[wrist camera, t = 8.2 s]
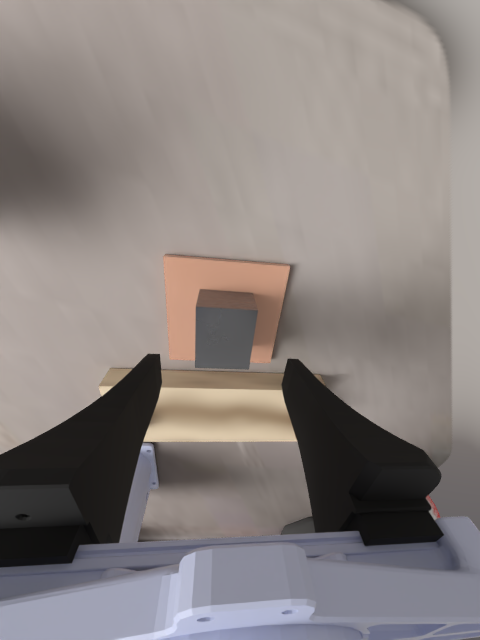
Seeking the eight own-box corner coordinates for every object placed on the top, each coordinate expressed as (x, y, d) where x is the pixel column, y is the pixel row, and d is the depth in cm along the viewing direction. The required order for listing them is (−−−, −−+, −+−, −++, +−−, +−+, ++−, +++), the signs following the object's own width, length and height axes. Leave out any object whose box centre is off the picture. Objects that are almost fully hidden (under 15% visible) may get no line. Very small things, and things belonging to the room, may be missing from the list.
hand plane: (302, 423, 26) (314, 458, 23) (122, 422, 24) (105, 460, 21) (319, 374, 23) (337, 407, 19) (110, 368, 21) (87, 403, 17)
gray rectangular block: (245, 346, 20) (248, 369, 17) (198, 343, 19) (195, 367, 17) (252, 292, 17) (258, 310, 15) (199, 289, 17) (195, 306, 14)
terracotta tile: (269, 358, 21) (270, 363, 21) (171, 355, 21) (169, 359, 20) (288, 264, 17) (290, 266, 17) (165, 254, 16) (163, 256, 16)
